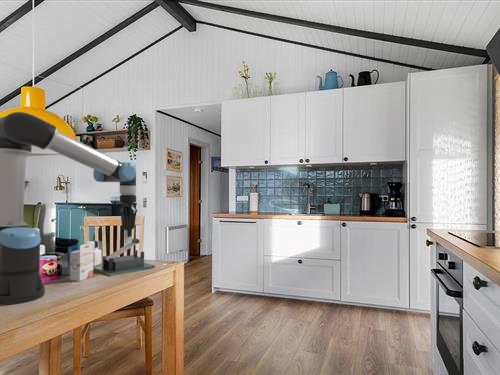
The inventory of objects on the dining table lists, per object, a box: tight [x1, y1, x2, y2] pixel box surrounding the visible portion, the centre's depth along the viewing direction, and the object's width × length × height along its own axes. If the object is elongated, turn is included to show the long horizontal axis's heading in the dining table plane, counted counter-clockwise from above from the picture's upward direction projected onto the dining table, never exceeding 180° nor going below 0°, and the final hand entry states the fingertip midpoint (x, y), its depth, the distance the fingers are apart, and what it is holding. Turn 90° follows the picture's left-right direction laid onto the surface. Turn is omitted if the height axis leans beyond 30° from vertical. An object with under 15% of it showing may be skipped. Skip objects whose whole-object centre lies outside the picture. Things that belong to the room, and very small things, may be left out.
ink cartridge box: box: [69, 243, 94, 282], centre depth 138 cm, size 9×5×15 cm, turn 168°
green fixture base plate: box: [93, 249, 156, 277], centre depth 156 cm, size 22×18×8 cm
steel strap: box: [104, 237, 141, 261], centre depth 155 cm, size 17×4×2 cm, turn 138°
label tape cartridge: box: [60, 243, 82, 275], centre depth 149 cm, size 9×4×12 cm, turn 171°
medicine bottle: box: [84, 240, 102, 267], centre depth 165 cm, size 7×7×12 cm
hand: (128, 243), depth 158 cm, fingers closed
